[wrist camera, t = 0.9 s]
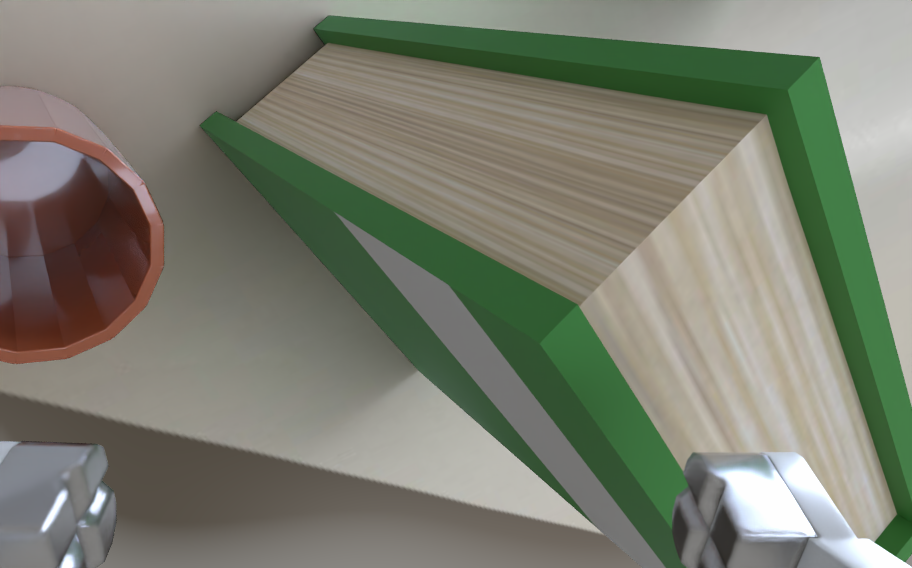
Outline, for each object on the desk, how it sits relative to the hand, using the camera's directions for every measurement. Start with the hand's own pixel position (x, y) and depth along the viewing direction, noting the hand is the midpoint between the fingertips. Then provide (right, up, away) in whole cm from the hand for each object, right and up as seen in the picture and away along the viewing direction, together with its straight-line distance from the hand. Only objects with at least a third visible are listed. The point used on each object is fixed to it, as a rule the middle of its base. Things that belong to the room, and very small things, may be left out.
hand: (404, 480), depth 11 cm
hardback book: (-3, +6, +27) cm, 28 cm away
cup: (-16, +7, +18) cm, 25 cm away
